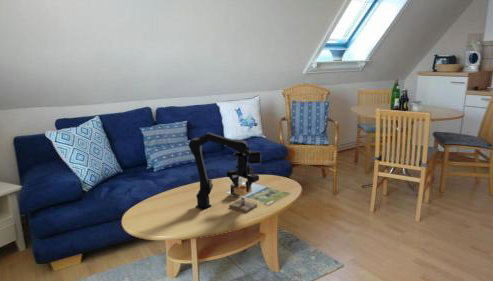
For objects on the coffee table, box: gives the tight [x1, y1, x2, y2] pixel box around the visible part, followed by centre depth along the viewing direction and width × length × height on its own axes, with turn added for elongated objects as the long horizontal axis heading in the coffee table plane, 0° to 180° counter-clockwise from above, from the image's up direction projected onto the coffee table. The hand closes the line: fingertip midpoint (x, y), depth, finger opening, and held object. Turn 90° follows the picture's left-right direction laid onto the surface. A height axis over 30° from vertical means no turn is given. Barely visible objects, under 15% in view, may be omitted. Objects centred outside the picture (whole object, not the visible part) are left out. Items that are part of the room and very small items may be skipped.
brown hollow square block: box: [234, 185, 253, 197], centre depth 189 cm, size 7×7×3 cm
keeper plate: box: [228, 196, 258, 214], centre depth 191 cm, size 10×12×6 cm
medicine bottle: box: [230, 177, 246, 198], centre depth 209 cm, size 7×7×12 cm
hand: (242, 190), depth 189 cm, fingers closed on brown hollow square block, 7 cm apart
